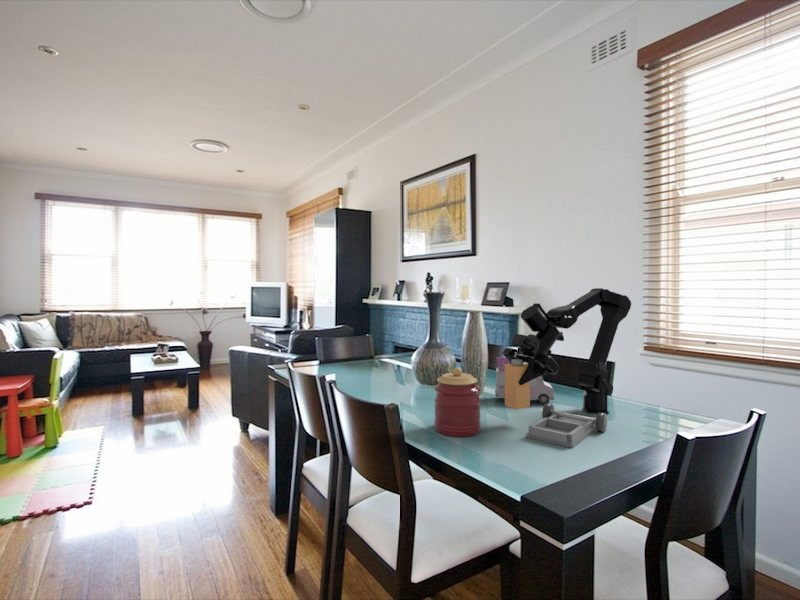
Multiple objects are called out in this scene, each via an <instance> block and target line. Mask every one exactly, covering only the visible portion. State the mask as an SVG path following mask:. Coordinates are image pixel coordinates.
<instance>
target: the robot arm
mask: <svg viewBox="0 0 800 600" xmlns="http://www.w3.org/2000/svg"><path fill="white" fill-rule="evenodd" d="M596 306H599V307H600V308H599V309H600V314H601V317H602V319H601V323H600V326H599V329H598V331H597V334H596V338H595V341H594V342H593V347H592V350H591V353H590V356H589V358H588V359H587V360H586V361H581V362H580V363H579V367H578V369H577V371H576V373H577V374H576V375H577V376H576V380H577V382H578V386H579V390H581V391H584V394H582V407H583V409H584V410H585V411H586V413H589V414H590V413H594V414H598V413H605V414H606V415H607V414H608V415H609V413H610V411H609V410H608V396H610V395H611V394H613V392H614V386H613V385H612V383H611V382H610V381H609V380H608V377H609V371H608V367H607V365H606V364H607V360H608V358H609V355H610V352H611V349H612V345H613V342H614V338H615V335H616V333H617V330H618V326H619V324H620V323H621V322H622V321H623V320H624V319H626V317H627V316H628V314H629V312H630V310H631V307H632V301H631V299H630V298H629V296H628V295H623V294H620V293H617V292H614V291H610V290H609V289H607V288H605V287H603V288H602V287H600V288H599V287H595V288H592V289H590V291H589V292H586V293H585V294H583V295H581V296H580V297H578V298H577V299H575V300H573V301H572V302H570V303H568V304H566V305H561V306H556V307H554V308H553V307H552V308H551V309H549V310H548V311H547V312H546V310H544V309H543V307H542V305H541V304H540V303H533V304H532V305H531V306H529V307H527V308H525V309H523V310H522V312H521V314H520V318H521V320H523V322H524V323H525V324H526V326H527V327H528V328H529V329H530V331H531V332H535V334H531V333H530V334H528V335H526V334H525V335H524V334H519V333H514V334H513V337H512V339H511V341H510V344H511V345H512V346H516V347H517V348H518V349H517V348H513V347H512V348H511V347H506V348H504V350H503V351H502V353H501V354H502V355H503V356H504V357H505V358H507V359H508V360H509V362H510V364H511V360H512V359H521V360H523V364H524V363H525V364H526V363H528V367H527V369H526V370H525V372H524V374H523V375H522V377H521V378H520V380H519V382H518V383H519V384H520V385H523V384H525V383H527V382H529V381H531V380H533V379H535V378H537V377H539V376H542V377H543V376H546V375H547V374H550V375H554V376H556V375H557V373H558V372H559V369H560V365H559V364H558V362H557V361H556V359H554V358H553V357H552V355H551V354H552V350H551V348H553V345H554V344H555V343H556V342H557V341H560V342H564V341H565V338H564V337H565V336H564V335H563V334H564V333H563V332H562V331H560V330H559V329H570V328H572V326H573V325H575V324H576V322H577V321H578V318H579V317H580V316H582V315H583V314H585V313H587V312H588V311H589V310H591V309H593V308H594V307H596ZM546 371H547V372H546Z"/></svg>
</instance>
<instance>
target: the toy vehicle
mask: <svg viewBox="0 0 800 600" xmlns="http://www.w3.org/2000/svg"><path fill="white" fill-rule="evenodd" d="M496 364H497V367H496V368H495V369H496V370H495V376H496V377H495V379H496V380H495V386H496V387H495V388H496V389H495V391H494V393H495V394H494V395H495V398H502V399H503V402H505V364H510V362H509V360H508V359H507V358H506V357H505V356H504V357H496ZM524 365H528V363H526V362H525V364H524ZM530 400H538V402H539V404H541V405H545V404H546V403H548V404H549V402H550V401H555V396H554V388H553V387H552V385H551V383H549V382H546V381H544V378H543V375H542V376H539V377H537V378H535V379H533V380H531V381H530Z"/></svg>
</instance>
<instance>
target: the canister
mask: <svg viewBox="0 0 800 600" xmlns="http://www.w3.org/2000/svg"><path fill="white" fill-rule="evenodd" d="M436 380H437V382H438V383H437V384H436V385H435V386H434V388H433V390H434V391H435V397H434V399H433V401H434V421H433V422H434V428H435V431H436V432H437V433H439V434H442V435H443V436H450V437H456V438H457V437H470V436H474V435H477V434H478V433H480V431H481V425H482V424H481V423H482V422H481V401H482V400H481V399H480V392H481V390H482V388H481V387H480V386H479V385H477V383H478V378H476V377H474V376H473V374H470V373H465V372H463V371H462V368H461V367H459V366H457V367H454V368H453V369H452V372H447V373H443V374H442V375H441V376H439V377H438V378H437V379H436Z"/></svg>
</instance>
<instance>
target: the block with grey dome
mask: <svg viewBox="0 0 800 600" xmlns="http://www.w3.org/2000/svg"><path fill="white" fill-rule="evenodd" d="M527 367H528V365H525V364H524V363H523V360H521V359H512V360H511V364H505V397H504V406H506V407H509V408H511V409H514V410H522V409H526V408H531V399H530V381H529V382H527V383H525V384H523V385H520V384H519V383H518V382H519V380H520V378H521V377H522V375H523V374H524V372H525V370H526V369H527Z"/></svg>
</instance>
